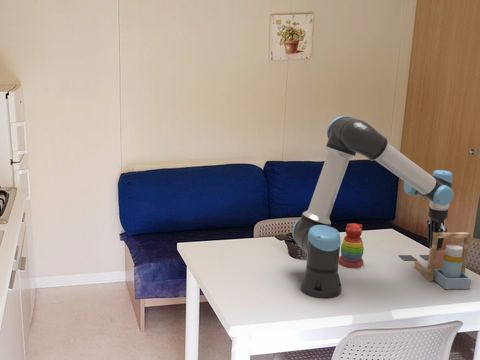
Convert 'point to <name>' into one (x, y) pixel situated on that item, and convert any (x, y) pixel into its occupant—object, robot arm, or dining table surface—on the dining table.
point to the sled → (454, 283)
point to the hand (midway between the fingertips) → (432, 262)
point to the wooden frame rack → (430, 272)
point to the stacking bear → (352, 247)
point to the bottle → (452, 261)
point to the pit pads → (411, 258)
